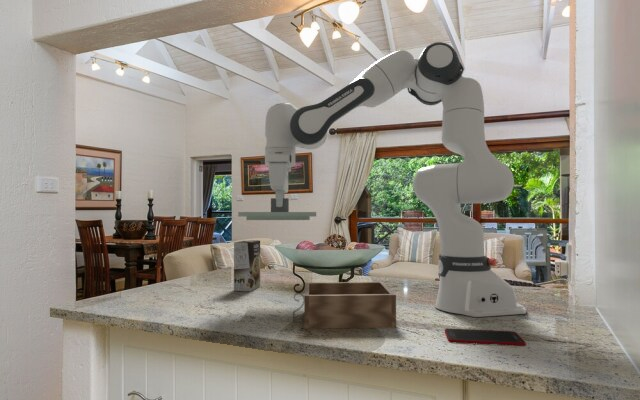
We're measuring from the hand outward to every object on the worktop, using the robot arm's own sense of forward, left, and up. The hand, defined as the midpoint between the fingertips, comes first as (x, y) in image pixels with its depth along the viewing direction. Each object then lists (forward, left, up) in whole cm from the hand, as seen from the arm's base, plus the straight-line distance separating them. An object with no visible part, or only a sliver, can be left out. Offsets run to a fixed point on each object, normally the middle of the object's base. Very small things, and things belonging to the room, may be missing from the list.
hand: (280, 207), depth 119 cm
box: (-17, +22, -27) cm, 39 cm away
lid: (0, 0, -3) cm, 3 cm away
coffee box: (+13, -20, -28) cm, 36 cm away
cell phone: (-44, +35, -28) cm, 63 cm away
